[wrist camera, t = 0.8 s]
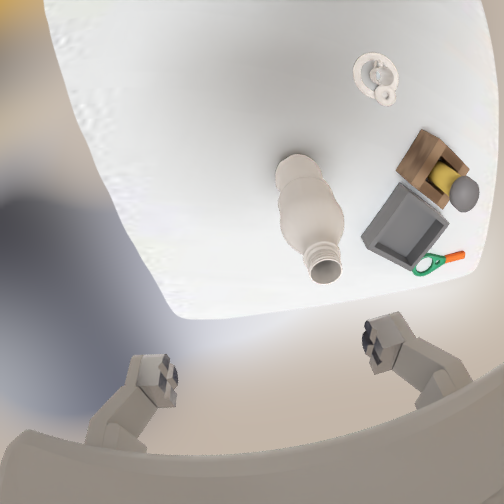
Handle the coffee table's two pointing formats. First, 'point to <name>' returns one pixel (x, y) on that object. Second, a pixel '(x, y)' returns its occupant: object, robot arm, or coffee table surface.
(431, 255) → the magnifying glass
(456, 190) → the peg
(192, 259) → the coffee table surface
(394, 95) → the teacup and saucer
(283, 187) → the water bottle
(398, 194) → the tray
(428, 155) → the holder
